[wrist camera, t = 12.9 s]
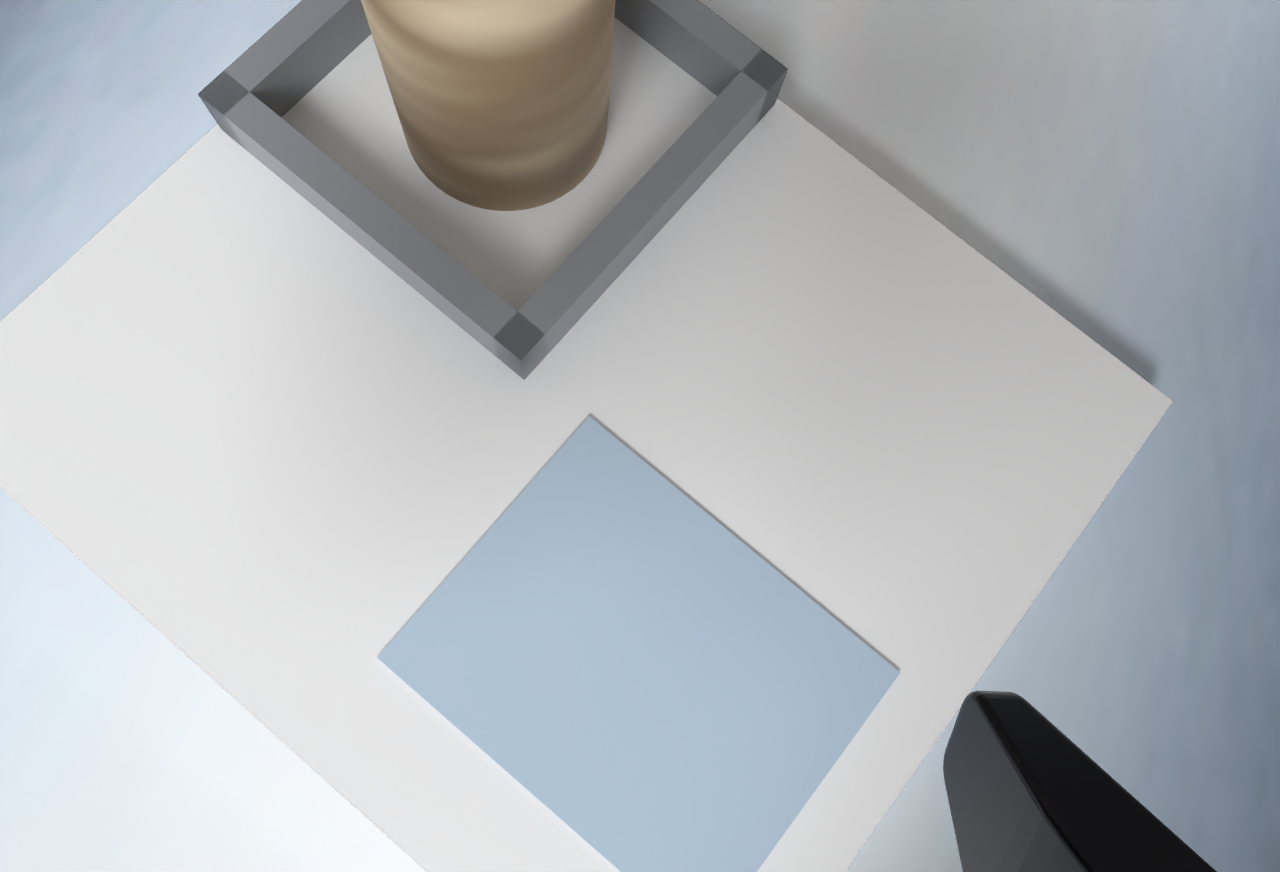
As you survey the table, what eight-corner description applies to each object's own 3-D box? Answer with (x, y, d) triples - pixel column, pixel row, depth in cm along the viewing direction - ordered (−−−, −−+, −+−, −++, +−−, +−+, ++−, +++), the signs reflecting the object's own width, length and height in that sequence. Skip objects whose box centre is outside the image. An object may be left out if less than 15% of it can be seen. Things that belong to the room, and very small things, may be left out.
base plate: (1148, 411, 24) (1214, 384, 21) (678, 1080, 20) (693, 1141, 17) (491, -95, 26) (483, -173, 23) (-62, 416, 22) (-142, 386, 19)
